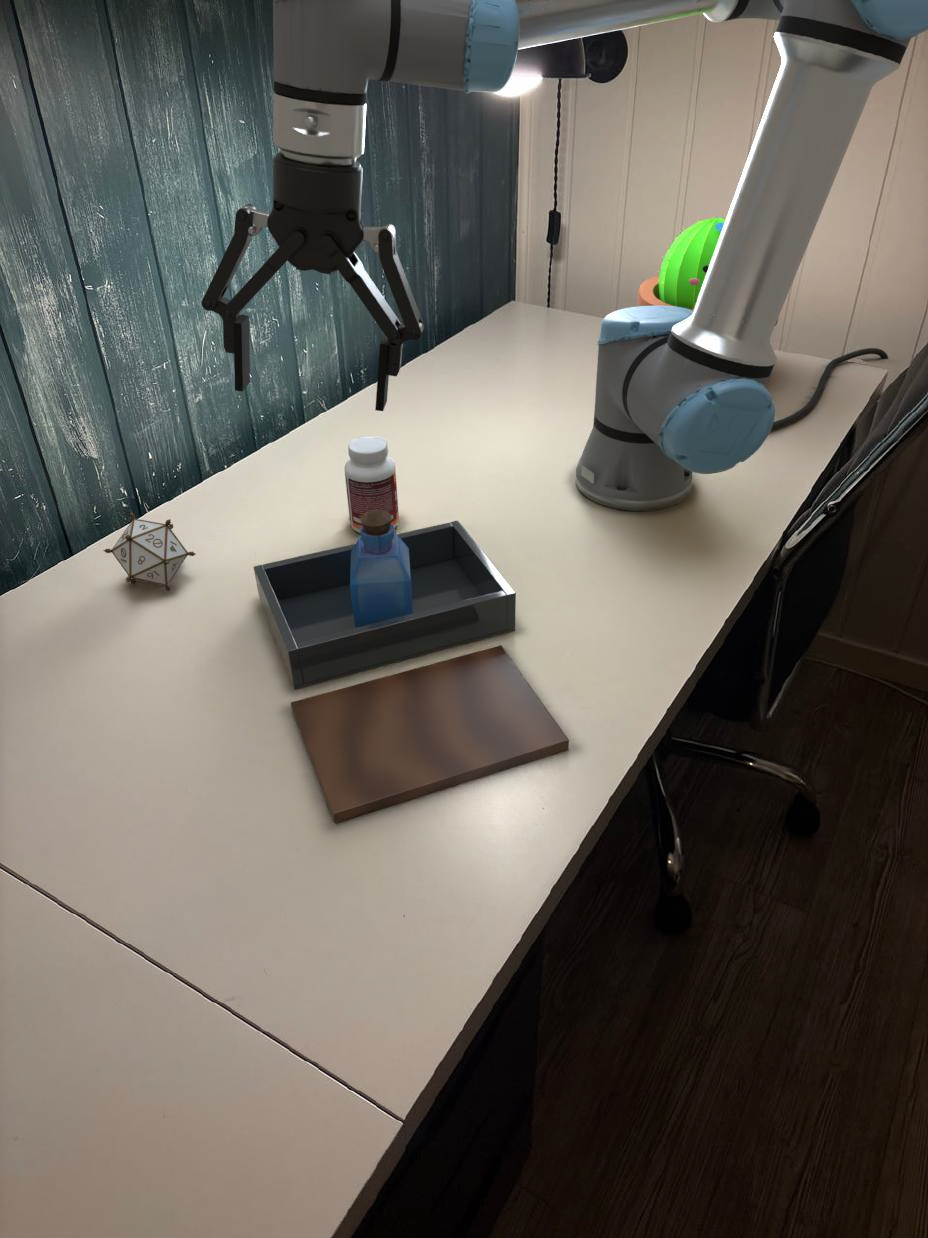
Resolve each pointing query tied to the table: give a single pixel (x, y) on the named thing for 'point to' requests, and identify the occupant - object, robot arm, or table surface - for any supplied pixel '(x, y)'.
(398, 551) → the perfume bottle
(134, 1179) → the table surface
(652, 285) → the potted cactus
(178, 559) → the game die
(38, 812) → the table surface
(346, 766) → the board
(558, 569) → the table surface
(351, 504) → the pill bottle
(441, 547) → the tray
